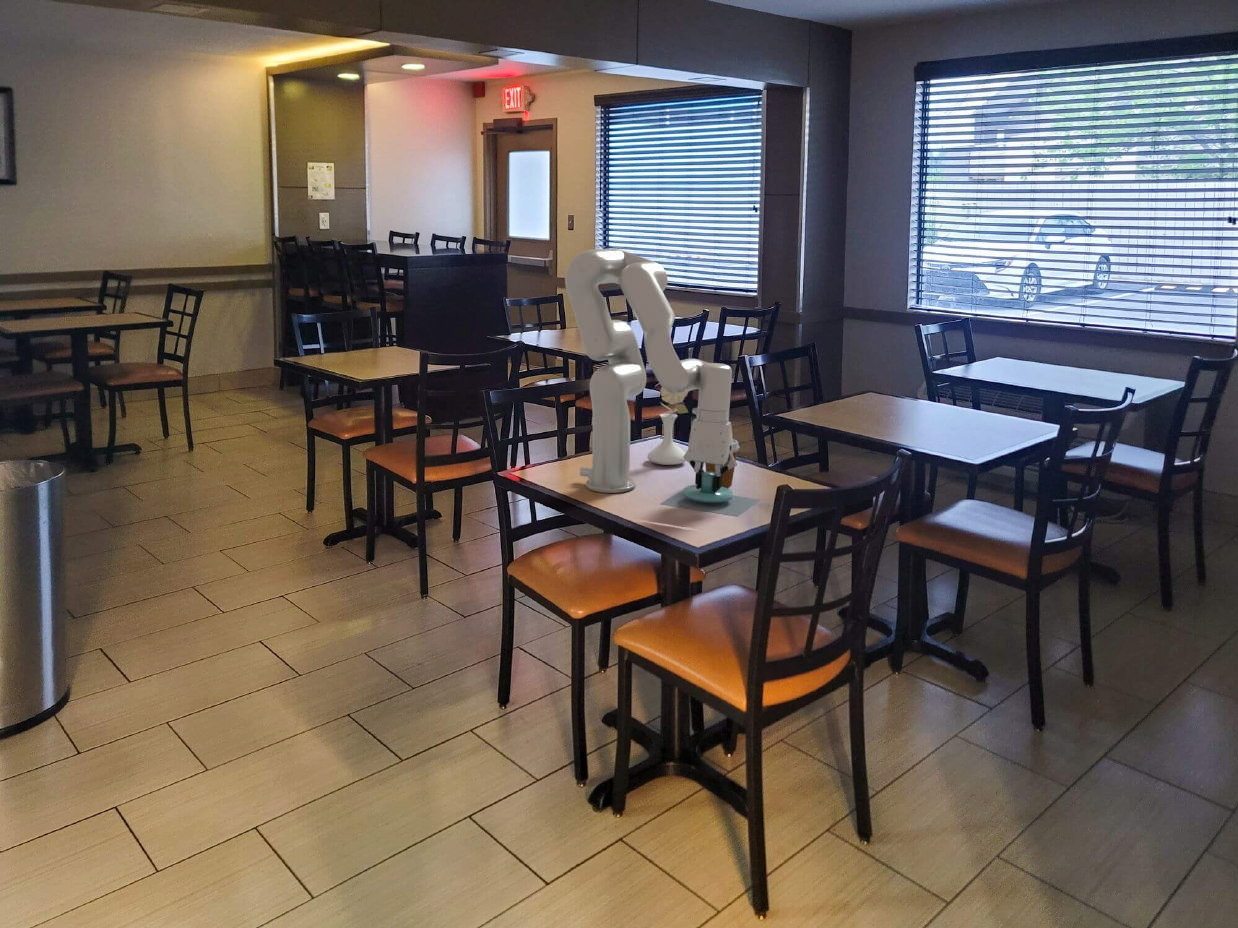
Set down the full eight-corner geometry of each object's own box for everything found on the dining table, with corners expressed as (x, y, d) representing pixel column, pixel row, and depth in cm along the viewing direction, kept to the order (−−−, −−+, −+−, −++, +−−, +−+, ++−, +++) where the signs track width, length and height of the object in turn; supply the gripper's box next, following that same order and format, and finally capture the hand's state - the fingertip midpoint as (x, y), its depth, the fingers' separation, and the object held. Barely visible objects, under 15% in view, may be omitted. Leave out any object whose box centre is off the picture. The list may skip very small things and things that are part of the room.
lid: (675, 497, 240) (676, 475, 238) (694, 485, 250) (695, 464, 249) (721, 505, 234) (723, 483, 233) (739, 493, 245) (740, 471, 244)
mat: (659, 505, 240) (659, 503, 240) (685, 490, 254) (685, 488, 253) (737, 518, 231) (737, 516, 231) (760, 501, 245) (760, 499, 245)
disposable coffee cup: (735, 492, 252) (738, 446, 250) (698, 489, 254) (700, 444, 251) (739, 482, 262) (741, 438, 259) (703, 480, 263) (704, 436, 260)
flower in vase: (638, 462, 281) (640, 374, 275) (667, 456, 288) (669, 371, 282) (671, 471, 272) (674, 381, 265) (699, 465, 279) (703, 377, 273)
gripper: (674, 413, 237) (670, 487, 242) (740, 423, 230) (734, 498, 235) (687, 408, 244) (682, 480, 249) (751, 417, 237) (745, 491, 241)
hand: (708, 488), depth 242 cm, fingers closed on lid, 3 cm apart
